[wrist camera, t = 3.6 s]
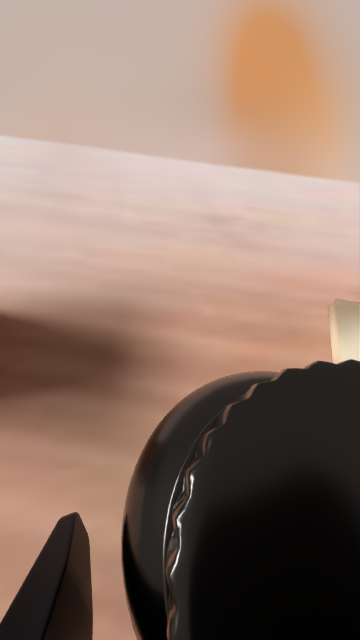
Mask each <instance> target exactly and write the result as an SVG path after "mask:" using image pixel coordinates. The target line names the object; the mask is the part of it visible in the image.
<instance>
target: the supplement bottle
mask: <svg viewBox="0 0 360 640" xmlns="http://www.w3.org/2000/svg"><path fill="white" fill-rule="evenodd" d="M121 560H122V572H123V582H124V588H125V594H126V600H127V605H128V609H129V613H130V617H131V621H132V625H133V629H134V631H135V634H136V637H137V640H360V361H357V360H353V359H350V360H346V361H343V362H340V363H338V364H334V363H330V362H324V361H316V362H313V363H311V364H310V365H308V366H306V367H305V368H303V369H298V368H293V369H284V370H282V371H281V372H271V371H254V372H244V373H239V374H234V375H230V376H226V377H223V378H220V379H217V380H215V381H212V382H210V383H208V384H206V385H204V386H202V387H200V388H198V389H197V390H195V391H194V392H192V393H191V394H189V395H188V396H186V397H185V398H184V399H183V400H181V401H180V402H179V403H178V404H177V405H176V406H175V407H174V408H173V409H172V410H171V411H170V412H169V413H168V414H167V415H166V416H165V417H164V418H163V420H162V421H161V422H160V423H159V425H158V426H157V427H156V429H155V430H154V432H153V433H152V435H151V436H150V438H149V439H148V441H147V443H146V445H145V447H144V449H143V451H142V452H141V455H140V457H139V459H138V462H137V464H136V466H135V469H134V472H133V475H132V478H131V481H130V485H129V489H128V493H127V497H126V502H125V508H124V515H123V523H122V537H121Z"/></svg>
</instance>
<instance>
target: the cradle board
mask: <svg viewBox="0 0 360 640" xmlns="http://www.w3.org/2000/svg"><path fill="white" fill-rule="evenodd" d="M328 309H329V322H330V334H331V346H332V358H333V363H334V364H338V363H340V362H343V361H346V360H350V359H353V360H357V361H360V302H353V301H347V300H341V299H336V300H335V301H334V302H333V303H332V304H331V305H330V306H329V307H328Z"/></svg>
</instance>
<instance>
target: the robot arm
mask: <svg viewBox="0 0 360 640" xmlns="http://www.w3.org/2000/svg"><path fill="white" fill-rule="evenodd" d="M92 634H93V608H92V586H91V565H90V545H89V537H88V533H87V531H86V529H85V526H84V524H83V522H82V520H81V517H80V515H79V514H78V513H77V512H74V513H71V514H69V515H66V516H63V517H62V518H60V519H59V521H58V522H57V524H56V526H55V528H54V529H53V531H52V533H51V535H50V537H49V538H48V540H47V542H46V544H45V545H44V547H43V549H42V551H41V552H40V554H39V556H38V558H37V559H36V561H35V563H34V565H33V567H32V568H31V570H30V572H29V574H28V575H27V577H26V579H25V581H24V582H23V584H22V586H21V588H20V589H19V591H18V593H17V595H16V596H15V598H14V600H13V602H12V604H11V605H10V607H9V609H8V611H7V612H6V614H5V616H4V618H3V619H2V621H1V623H0V640H92Z"/></svg>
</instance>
